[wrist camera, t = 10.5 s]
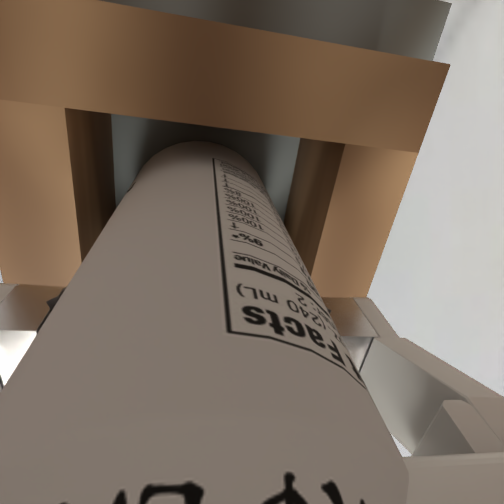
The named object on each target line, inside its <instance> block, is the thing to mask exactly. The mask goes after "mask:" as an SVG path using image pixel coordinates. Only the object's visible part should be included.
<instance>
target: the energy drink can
mask: <svg viewBox="0 0 504 504" xmlns="http://www.w3.org/2000/svg"><path fill="white" fill-rule="evenodd" d="M408 484H409V472H408V470H407V467H406V465H405V463H404V461H403V459H402V456H401V454H400V452H399V450H398V448H397V446H396V444H395V442H394V440H393V438H392V436H391V434H390V432H389V430H388V428H387V426H386V424H385V422H384V420H383V418H382V416H381V415H380V413H379V411H378V409H377V407H376V405H375V403H374V401H373V399H372V397H371V395H370V393H369V391H368V389H367V387H366V385H365V383H364V381H363V379H362V377H361V375H360V373H359V371H358V369H357V367H356V365H355V363H354V361H353V359H352V358H351V356H350V354H349V352H348V350H347V348H346V346H345V344H344V342H343V340H342V338H341V336H340V334H339V332H338V330H337V328H336V326H335V324H334V322H333V320H332V318H331V316H330V314H329V312H328V310H327V308H326V306H325V304H324V303H323V301H322V299H321V297H320V295H319V293H318V291H317V289H316V287H315V285H314V283H313V281H312V279H311V277H310V275H309V273H308V271H307V269H306V267H305V265H304V263H303V261H302V259H301V257H300V255H299V253H298V251H297V249H296V247H295V246H294V244H293V242H292V240H291V238H290V236H289V234H288V232H287V230H286V228H285V226H284V224H283V222H282V220H281V218H280V216H279V214H278V212H277V210H276V208H275V206H274V204H273V202H272V200H271V198H270V196H269V194H268V192H267V190H266V189H265V187H264V185H263V183H262V181H261V179H260V177H259V175H258V174H257V172H256V170H255V169H254V168H253V167H252V166H251V164H250V163H249V162H248V161H247V160H246V159H244V158H243V157H242V156H241V155H239V154H238V153H237V152H235V151H233V150H231V149H229V148H227V147H225V146H223V145H219V144H215V143H212V142H204V141H190V142H183V143H178V144H175V145H173V146H170V147H167V148H165V149H163V150H162V151H160V152H158V153H157V154H155V155H154V156H153V157H152V158H151V159H150V160H149V161H148V162H147V163H146V164H145V165H144V166H143V167H142V169H141V170H140V172H139V173H138V175H137V177H136V178H135V180H134V181H133V183H132V184H131V186H130V188H129V189H128V191H127V192H126V194H125V196H124V197H123V199H122V200H121V202H120V203H119V205H118V207H117V208H116V210H115V211H114V213H113V215H112V216H111V218H110V219H109V221H108V222H107V224H106V226H105V227H104V229H103V230H102V232H101V234H100V235H99V237H98V238H97V240H96V241H95V243H94V245H93V246H92V248H91V249H90V251H89V253H88V254H87V256H86V257H85V259H84V260H83V262H82V264H81V265H80V267H79V268H78V270H77V272H76V273H75V275H74V276H73V278H72V279H71V281H70V283H69V284H68V286H67V287H66V289H65V291H64V292H63V294H62V295H61V297H60V298H59V300H58V302H57V303H56V305H55V306H54V308H53V310H52V311H51V313H50V314H49V316H48V317H47V319H46V321H45V322H44V324H43V325H42V327H41V329H40V330H39V332H38V333H37V335H36V336H35V338H34V340H33V341H32V343H31V344H30V346H29V348H28V349H27V351H26V352H25V354H24V356H23V357H22V359H21V360H20V362H19V363H18V365H17V367H16V368H15V370H14V371H13V373H12V375H11V376H10V378H9V379H8V381H7V382H6V384H5V386H4V387H3V389H2V390H1V392H0V504H406V499H407V492H408Z"/></svg>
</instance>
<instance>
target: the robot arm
mask: <svg viewBox="0 0 504 504" xmlns="http://www.w3.org/2000/svg"><path fill="white" fill-rule="evenodd" d="M65 289H66V287H63V286H46V285H28V284H8V283H0V392H1V390H2V389H3V387H4V386H5V384H6V382H7V381H8V379H9V378H10V376H11V375H12V373H13V371H14V370H15V368H16V367H17V365H18V363H19V362H20V360H21V359H22V357H23V356H24V354H25V352H26V351H27V349H28V348H29V346H30V344H31V343H32V341H33V340H34V338H35V336H36V335H37V333H38V332H39V330H40V329H41V327H42V325H43V324H44V322H45V321H46V319H47V317H48V316H49V314H50V313H51V311H52V310H53V308H54V306H55V305H56V303H57V302H58V300H59V298H60V297H61V295H62V294H63V292H64V291H65ZM321 299H322V301H323V303H324V304H325V306H326V308H327V310H328V312H329V314H330V316H331V318H332V320H333V322H334V324H335V326H336V328H337V330H338V332H339V334H340V336H341V338H342V340H343V342H344V344H345V346H346V348H347V350H348V352H349V354H350V356H351V358H352V359H353V361H354V363H355V365H356V367H357V369H358V371H359V373H360V375H361V377H362V379H363V381H364V383H365V385H366V387H367V389H368V391H369V393H370V395H371V397H372V399H373V401H374V403H375V405H376V407H377V409H378V411H379V413H380V415H381V416H382V418H383V420H384V422H385V424H386V426H387V428H388V430H389V432H390V433H391V434H392V435H393V436H394V437H395V438H396V439H397V440H398V441H399V442H400V443H401V444H402V445H403V446H404V447H405V448H406V449H407V450H408V451H409V452H410V453H411V454H412V456H410V457H402V459H403V461H404V463H405V465H406V467H407V470H408V472H409V484H408V492H407V499H406V504H504V397H503V396H501V395H499V394H498V393H496V392H494V391H493V390H491V389H489V388H488V387H486V386H484V385H483V384H481V383H479V382H478V381H476V380H474V379H473V378H471V377H469V376H468V375H466V374H464V373H463V372H461V371H459V370H458V369H456V368H454V367H453V366H451V365H449V364H448V363H446V362H444V361H443V360H441V359H439V358H438V357H436V356H434V355H433V354H431V353H429V352H428V351H426V350H424V349H423V348H421V347H419V346H418V345H416V344H414V343H413V342H411V341H409V340H408V339H406V338H399V336H398V335H397V334H396V332H395V331H394V330H393V328H392V327H391V326H390V324H389V323H388V321H387V320H386V319H385V317H384V316H383V315H382V313H381V312H380V311H379V309H378V308H377V306H376V305H375V304H374V302H373V301H372V300H371V299H369V298H368V297H350V298H343V297H321Z"/></svg>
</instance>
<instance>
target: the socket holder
mask: <svg viewBox="0 0 504 504" xmlns="http://www.w3.org/2000/svg"><path fill="white" fill-rule="evenodd" d="M451 4H452V3H448V2H443V1H439V0H0V270H1V274H2V278H3V282H4V283H8V284H28V285H46V286H63V287H67V286H68V284H69V283H70V281H71V279H72V278H73V276H74V275H75V273H76V272H77V270H78V268H79V267H80V265H81V264H82V262H83V260H84V259H85V257H86V256H87V254H88V253H89V251H90V249H91V248H92V246H93V245H94V243H95V241H96V240H97V238H98V237H99V235H100V234H101V232H102V230H103V229H104V227H105V226H106V224H107V222H108V221H109V219H110V218H111V216H112V215H113V213H114V211H115V210H116V208H117V207H118V205H119V203H120V202H121V200H122V199H123V197H124V196H125V194H126V192H127V191H128V189H129V188H130V186H131V184H132V183H133V181H134V180H135V178H136V177H137V175H138V173H139V172H140V170H141V169H142V167H143V166H144V165H145V164H146V163H147V162H148V161H149V160H150V159H151V158H152V157H153V156H154V155H155V154H157V153H158V152H160V151H162V150H163V149H165V148H167V147H170V146H173V145H175V144H178V143H183V142H190V141H204V142H212V143H215V144H219V145H223V146H225V147H227V148H229V149H231V150H233V151H235V152H237V153H238V154H239V155H241V156H242V157H243V158H244V159H246V160H247V161H248V162H249V163H250V164H251V166H252V167H253V168H254V169H255V170H256V172H257V174H258V175H259V177H260V179H261V181H262V183H263V185H264V187H265V189H266V190H267V192H268V194H269V196H270V198H271V200H272V202H273V204H274V206H275V208H276V210H277V212H278V214H279V216H280V218H281V220H282V222H283V224H284V226H285V228H286V230H287V232H288V234H289V236H290V238H291V240H292V242H293V244H294V246H295V247H296V249H297V251H298V253H299V255H300V257H301V259H302V261H303V263H304V265H305V267H306V269H307V271H308V273H309V275H310V277H311V279H312V281H313V283H314V285H315V287H316V289H317V291H318V293H319V295H320V297H343V298H350V297H366V296H367V294H368V291H369V288H370V285H371V282H372V280H373V277H374V274H375V271H376V269H377V266H378V263H379V260H380V258H381V255H382V252H383V249H384V247H385V244H386V241H387V238H388V236H389V233H390V230H391V227H392V225H393V222H394V219H395V216H396V213H397V211H398V208H399V205H400V202H401V200H402V197H403V194H404V191H405V189H406V186H407V183H408V180H409V178H410V175H411V172H412V169H413V167H414V164H415V161H416V158H417V156H418V153H419V150H420V147H421V145H422V142H423V139H424V136H425V133H426V131H427V128H428V125H429V122H430V120H431V117H432V114H433V111H434V109H435V106H436V103H437V100H438V98H439V95H440V92H441V89H442V87H443V84H444V81H445V78H446V76H447V73H448V70H449V67H450V64H445V63H440V62H434V61H432V60H433V58H434V55H435V52H436V49H437V46H438V43H439V40H440V37H441V34H442V31H443V28H444V25H445V22H446V19H447V16H448V13H449V10H450V7H451Z"/></svg>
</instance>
